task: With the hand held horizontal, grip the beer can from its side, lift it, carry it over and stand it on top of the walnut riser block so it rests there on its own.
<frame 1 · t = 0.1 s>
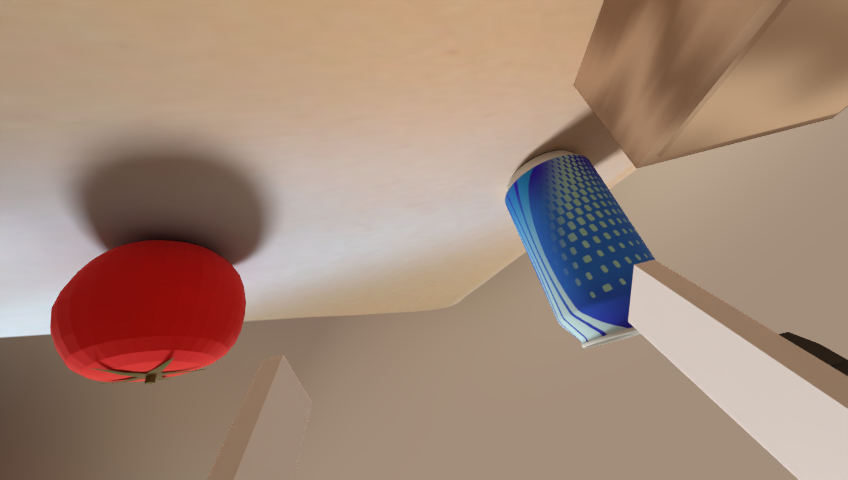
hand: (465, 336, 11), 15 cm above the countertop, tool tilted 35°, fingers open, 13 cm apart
beer can: (540, 174, 30), on the countertop
tomato: (174, 255, 28), on the countertop
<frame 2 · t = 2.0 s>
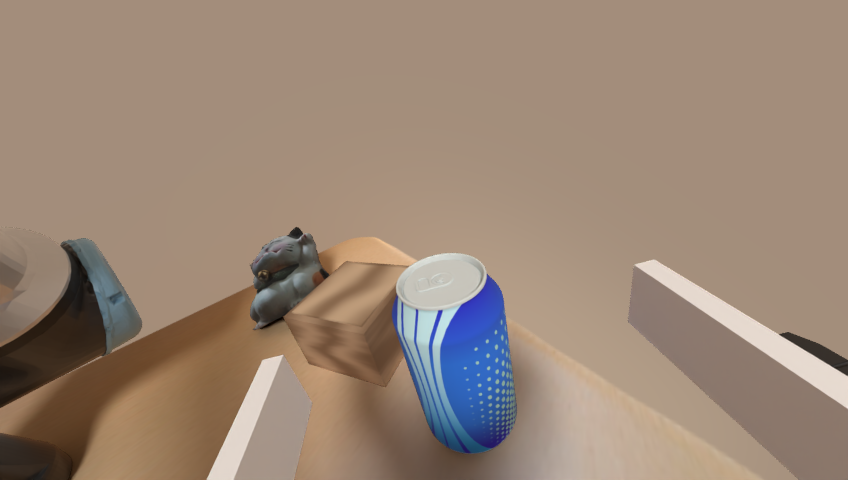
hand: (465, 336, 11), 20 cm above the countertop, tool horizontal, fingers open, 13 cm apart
lucky cat figurine: (297, 306, 52), on the countertop
walnut riser: (371, 337, 41), on the countertop
beer can: (472, 414, 29), on the countertop
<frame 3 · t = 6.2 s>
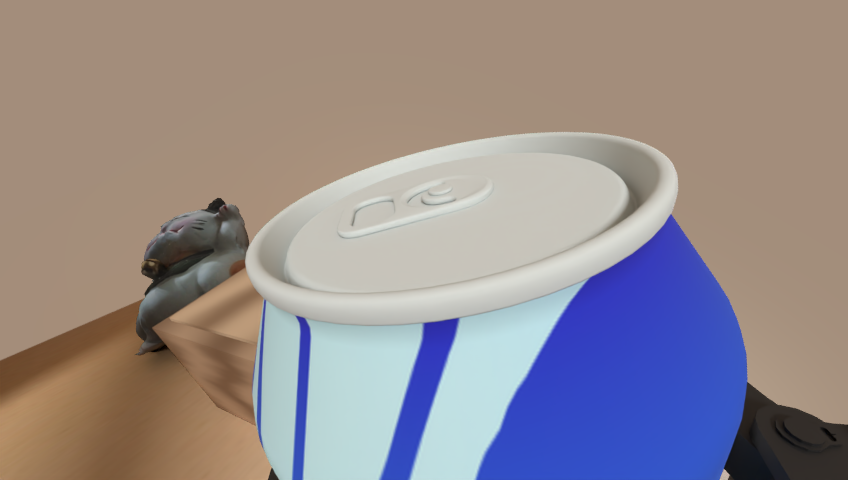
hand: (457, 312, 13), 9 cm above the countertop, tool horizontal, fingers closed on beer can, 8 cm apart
lucky cat figurine: (221, 314, 35), on the countertop
walnut riser: (328, 359, 24), on the countertop
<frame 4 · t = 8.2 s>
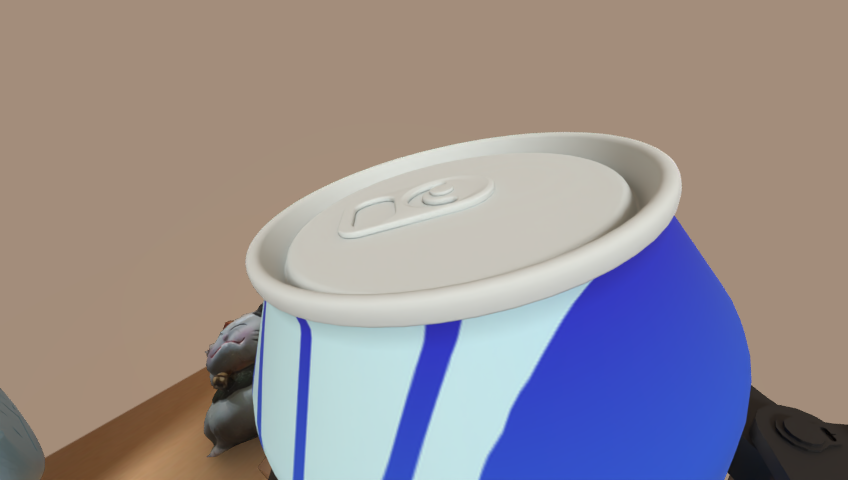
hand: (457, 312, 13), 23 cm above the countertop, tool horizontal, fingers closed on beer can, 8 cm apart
lucky cat figurine: (271, 404, 39), on the countertop
when the fingers open (18 cm above the countertop, at t = 10.5 s): beer can drops 1 cm, resting on walnut riser.
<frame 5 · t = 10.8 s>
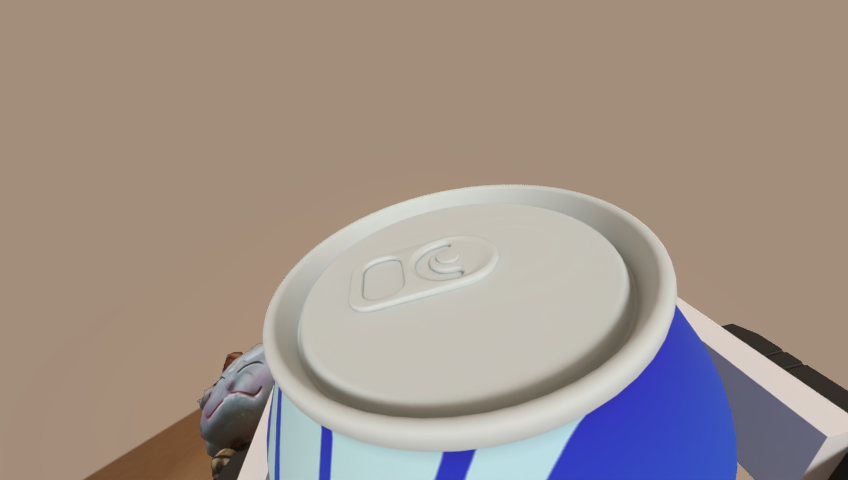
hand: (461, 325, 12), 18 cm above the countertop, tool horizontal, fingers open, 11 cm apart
lucky cat figurine: (298, 479, 26), on the countertop
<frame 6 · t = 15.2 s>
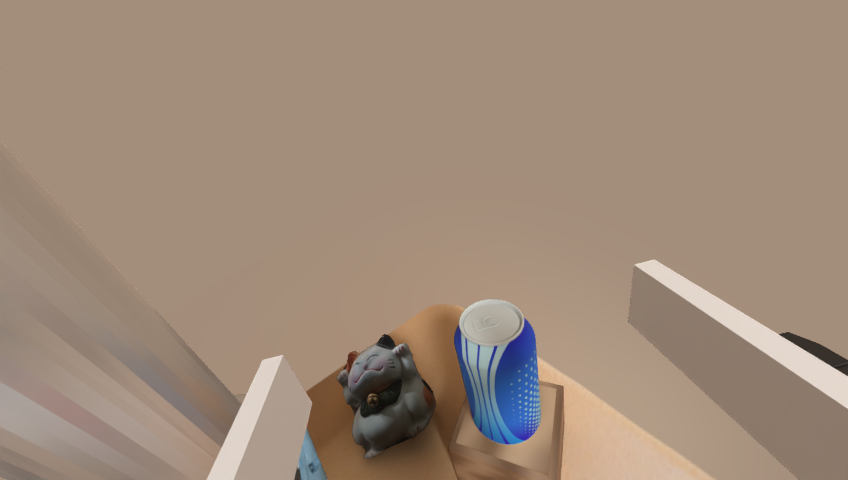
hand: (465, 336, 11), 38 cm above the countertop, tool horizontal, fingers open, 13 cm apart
lucky cat figurine: (391, 416, 50), on the countertop
walnut riser: (513, 451, 42), on the countertop
beer can: (506, 416, 38), point 8 cm above the countertop, touching walnut riser
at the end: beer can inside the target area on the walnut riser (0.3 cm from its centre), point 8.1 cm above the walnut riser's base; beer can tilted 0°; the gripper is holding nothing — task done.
